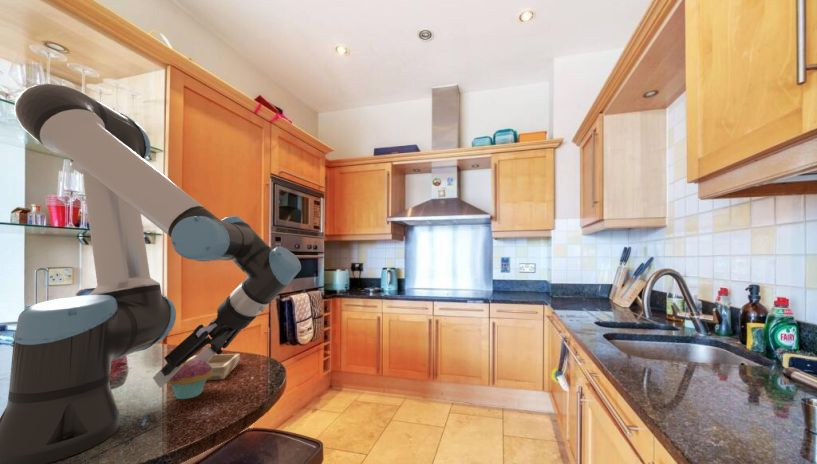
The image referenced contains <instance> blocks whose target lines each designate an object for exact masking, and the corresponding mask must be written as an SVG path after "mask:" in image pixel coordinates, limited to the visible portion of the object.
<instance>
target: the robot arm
mask: <svg viewBox="0 0 817 464" xmlns="http://www.w3.org/2000/svg"><path fill="white" fill-rule="evenodd" d="M13 109H14V113H15V118H16V119H17V122H18V123H19V125H20V126H21V127H22V129H24V131H25V132H26V133H27V134H29V135H30V136H31V137H32V138H33V139H35V140H36V141H37V142H39V144H41V145H42V146H44V147H45V148H46V149H48V150H49V151H51V152H53V153H54V154H55V153H56V154H58V155H66V156H67V157H68V158H69V162H70V168H71V169H72V170H74V171H76V172H78V173H79V174H80V175H81V176H82V182H83V190H84V197H85V204H86V211H87V212H86V213H87V219H88V225H89V231H90V232H89V233H90V240H91V248H92V255H93V263H94V264H93V265H94V270H95V277H96V283H97V284H96V287H95V288H94V289H93V290H92V291H91V292H90V293H89V294H86V295H85V294H84V295H76V296H71V297H61V298H60V297H59V298H56V299H50V300H46V301H41V302H38V303H35V304H33V305H31V306H28V307H26V308H25V309H24V310H22V312H20V314H19V315H18V319H17V321H16V322H17V323H16V328H15V330H14V332H13V335H12V339H13V344H12V353H11V355H12V356H11V368H10V377H9V378H10V379H9V388H8V397H7V402H6V403H7V404H6V406H5V408H4V410H3V412H2V414H1V416H0V464H49V463H53V462H57V461H59V460H63V459H66V458H69V457H71V456H75V455H77V454H80V453H82V452H85V451H87V450H89V449H91V448H93V447H95V446H97V445H99V444H101V443H103V442H104V441H106V440H107V439H109V438H110V437H111V436H113V435H114V434H115V433H116V432H117V431H118V429H119V426H120V417H121V415H120V411H119V409H118V406H117V402H116V399H115V397H114V394H113V391H112V388H111V386H110V381H111V370H112V369H111V368H112V361H115V360H117V359H118V360H119V359H120V358H123V357H126V356H128V355H130V354H133V353H136V352H141V351H145V350H147V349H149V348H151V347H152V346H154V345H156V344H158V343H160V342H162V341H163V340H164V339H166V337H167V336H168V335H169V334H170V333H171V331H172V330H173V328H174V326H175V323H176V319H177V311H176V310H177V309H176V306H175V304H174V302H173V301H172V300H171V299H169V298H168V297H167V296H166V295H163V294H162V287H161V283H160V282H159V281H157V280H155V279H153V278H152V277H151V274H150V268H149V267H150V266H149V261H148V254H147V248H146V247H147V246H146V240H145V233H144V227H143V219H142V216H143V217H144V218H146V219H147V220H148V221H150V222H151V224H152V225H155V226H156V227H157V228H158V229H159V230H161V231H162V232H164V233H165V234H166V235H167V236H168V237H170V239H171V240H170V242H171V245H172V246H173V247H172V248H173V250H174V251H175V253H177V254H178V255H179V256H181V257H182V258H185V259H186V260H187V259H188V260H192V261H196V262H211V261H217V262H218V261H231V262H233V263H234V264H235V265H236V266H237V267H238V269H240V270H241V271H242V272H243V273H245V275H246V278H245V279H244V280H242V282H241V283H239V285H238V286H236V288H235V289H233V291H232V292H230V294H229V295H228V296H227V297H226V298H225V299H224V300H223V302H221V304H219V306H218V307H217V309H216V311H217V312H216V313H217V314H216V315H217V316H216V318H214V319H213V320H211V321H210V323H209V324H208V325H207V326H204V324H200V325H199V324H198V326H197V327H196V328H195V329H194V330H193V332H191V333H190V334H189V335H188V336H187V337H186V338H184V340H183V341H181V343H179V344H178V345H177V346H176V347H175V348H173V350H171V351H170V352H169V353H168V354H167V355H165V357H164V360H165V362H166V363H165V365H163V366H162V367H161V369H160V370H159V371H158V372H157V373H156V374H155V375H154V376H153V377H152V379H153V380H154V382H155V383H156V384H157V386H158V388H160V389H161V388H163V387H164V386H165V385H166V384H168V383H167V382H168V381H169V380H170V379H171V378H172V377H173V376H174V375H175V374H176V373H177V372H178V371H179V369H180V368H181V367H182V366H183V365H182V364H183V363H184V362H185V361H187V360H188V359H190V358H191V357H193V356H195V355H197V356H196V357H195V358H194V359H193V360H192V361H203V362H205V363H207V362H208V361H209V360H210V359H211V358H212V357H213V356H214V355H215V354H218V355H219V354H223V350H222V349H226V348H227V347H229V345H231V343H232V342H233V340H234V339H235V338H236V337H237V336H238V335H239V333H240V332H241V331H242V330H245V329H246V328H247V327H248V326H249V325H250V324H251V323H252V322H253V321H254V320H255V319H256V318H257V316H259V314H260V313H264V312H265V311H266V307H267V306H269V305H270V303H271V302H273V300H275V298H276V297H277V296H278V295H279V294H280V293H281V292H283V291H284V289H285V288H287V286H289V285H290V284H291V282H292V281H293V279H294V278H295V277H296V276H297V275H298V274H299V272H300V271H301V269H302V264H301V262H300V260H299V258H298V256H296V254H294V253H293V252H291V251H290V250H289V249H288V248H286V247H283V246H276V247H275V248H272V247H271V246H269V244H268V243H267V242H266V241H265V240H264V239H262V237H261V236H260V235H259V234H258V233H257V232H256V231H254V229H253V228H252V227H251V225H250V224H249V223H246V221H245V220H243V219H242V218H241V217H240V216H237V215H231V216H227V217H224V218H223V219H220V218H218V217H217V216H216V215H215V214H213V213H212V212H211V211H210V210H208V209H207V208H205V207H204V206H203V205H202V204H201V203H199V202H198V201H197V200H196V199H195V198H193V196H192V195H191V196H190V195H189V194H188V193H187V192H186V191H184V190H183V189H182V188H181V187H180V186H178V185H176V184H175V183H174V182H173V181H171V179H169V178H168V177H167V176H165V175H164V174H163V173H161V171H159V170H158V169H157V168H156V167H154V166H153V165H152V164H150V163H149V162H148V161H147V157H149V155H150V152H151V140H150V138H149V135H148V134H147V132H146V131H145V129H144V128H143V127H142V126H141V125H140V124H138V123H137V122H135V120H133V119H132V118H131V117H129V116H127V115H126V114H124V113H122V112H119V111H116V110H114V109H112V108H110V107H109V106H107V105H106V104H104V103H102V102H100V101H99V100H97V99H95V98H93V97H91V96H90V95H88V94H87V93H85V92H82V91H81V90H78V89H76V88H73V87H71V86H68V85H64V84H58V83H57V84H56V83H41V84H35V85H33V86H29V87H28V88H26V89H24V90H23V91H21V92H20V93H19V95H18V96H17V97H16V100H15V102H14V108H13ZM198 352H199V353H198ZM197 353H198V354H197Z"/></svg>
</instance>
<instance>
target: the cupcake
mask: <svg viewBox="0 0 817 464" xmlns="http://www.w3.org/2000/svg"><path fill="white" fill-rule="evenodd" d="M182 365H183V366H182V367H181V368H180V369H179V371H178V372H177V373H176V374H175V375H174V376H173V377H172V378H171V379H170V380H169V381H168V382H167V383H166V384H168V385H171V387H172V389H173V392H174V396H175V397H174V398H176V399H177V400H188V399H192V398H196V397H198V396H200V395H201V394H202V393H203V389H204V386H205V383H206V382H207V381H208V380H207V379H208V378H210V377H211V376H212V367H211V366H210V365H208V364H207V363H205V362H203V361H191V362H187V361H185V362H184V363H183V364H182Z"/></svg>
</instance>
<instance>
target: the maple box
mask: <svg viewBox="0 0 817 464" xmlns="http://www.w3.org/2000/svg"><path fill="white" fill-rule="evenodd" d="M197 355H198V354H194V355H193V356H192V357H191V358H189V359H188V360H187V362H191V361H192V360H193V359H194V358H195V357H196V356H197ZM240 361H241V353H221V354H219V355H218V354H217V353H215V355H214V356H213V357H212V358H211V359H210V360H209V361H208V362H207V364H208V365H210V366H211V367H212V376H211V377H210V378H208V379H207V380H206V381H214V380H215V381H216V380H218V381H219V380H224V379H225V378H226V377H227V376H229V375H230V374H231V373H232V372H233V371H234V370H235V369H236V368H237V367H238V366H239V365H240V364H241V363H240ZM239 363H240V364H239ZM238 364H239V365H238ZM237 365H238V366H237ZM236 366H237V367H236ZM235 367H236V368H235ZM234 368H235V369H234ZM233 369H234V370H233ZM232 370H233V371H232ZM231 371H232V372H231ZM230 372H231V373H230Z"/></svg>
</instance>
